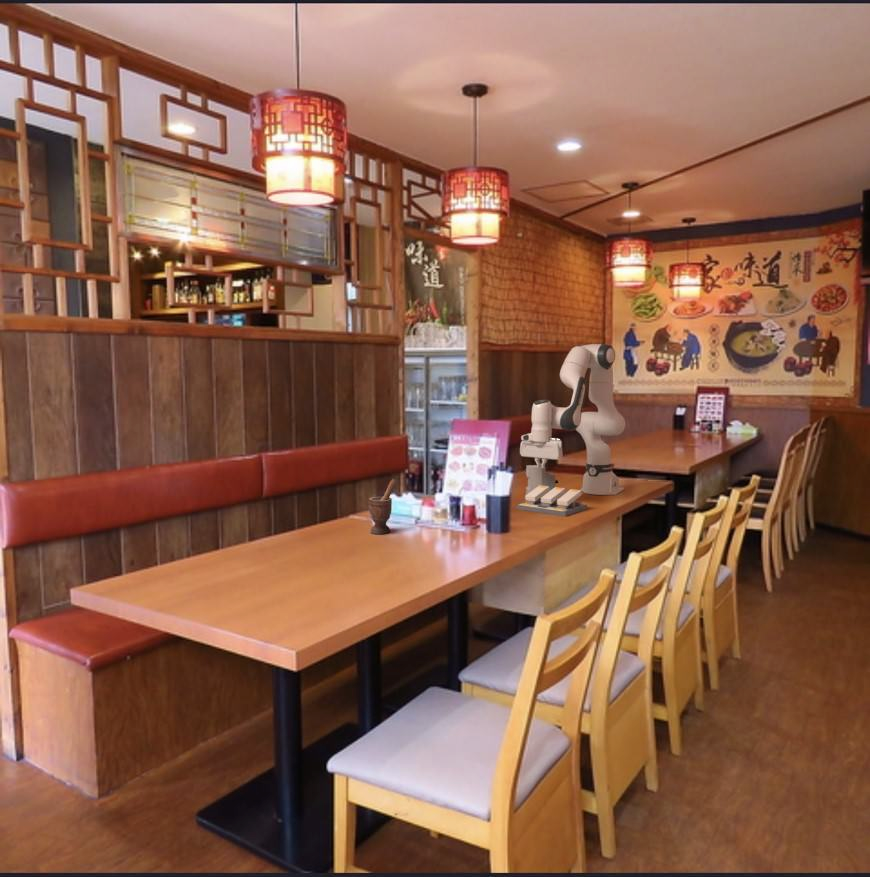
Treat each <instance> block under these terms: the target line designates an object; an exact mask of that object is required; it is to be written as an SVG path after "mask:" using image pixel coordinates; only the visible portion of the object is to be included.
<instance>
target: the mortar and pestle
mask: <svg viewBox="0 0 870 877" xmlns="http://www.w3.org/2000/svg"><path fill="white" fill-rule="evenodd" d="M398 483H399V481H398V480H396V478H395V479H394V478H392V479H391V480H390V481H389V484H388V485H387V488H386V491H385V492H384V495H383V496H372V497H369V498H368V505H369V506H368V510H369V513H370V519H371V520H372V521H373V523H374V525H373V526H371V528H370V534H375V535H385V534H389V533H390V532H391V528H390V527H389V526H388V524H387V522H388V521H389V519H390V518H391V514H392V506H393V505H392V500H393V499H392V498H391V495H392V494H393V492H394V490H395V489H396V488H397V486H398Z"/></svg>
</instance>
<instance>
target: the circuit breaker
mask: <svg viewBox="0 0 870 877" xmlns="http://www.w3.org/2000/svg"><path fill="white" fill-rule="evenodd" d="M546 471H547V470H546V467H545V468H543V469H542V468H537V464H533V465H531V464H529V465H526V468H525V475H526V478H528V479H527V486H526V487H525V496H526V495H527V494H528V493H530V492H531V491H532V490H534V489H535V488H536V487H538V486H539V485H542V486H549V489H550V491H551V490H552V489H553V488H555V487H556V484H559V480H558V479H556V475H555V474H554V473H553V472H546ZM548 492H549V491H548ZM548 492H547V493H548ZM543 496H544V495H543ZM543 496H542V497H543Z"/></svg>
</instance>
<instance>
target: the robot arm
mask: <svg viewBox="0 0 870 877" xmlns="http://www.w3.org/2000/svg"><path fill="white" fill-rule="evenodd" d="M615 359H616V351H615V349H614V347H613V346H612V345H610V344H608V343H600V344H599V343H590V344H585V345H583V344H581V345H576V346H574V347H572V348H571V349H570V351H569V352H568V354H567V355H566V357H565V359H564V361H563V363H562V365H561V368H560V370H559V371H560V372H559V378H560V380H561V382H562V383H563V384H564V385H565V386H566V387H567V388H570V389H571V390H573V393H572V397H571V402H570V405H568V406H566V407H559V406H556V405H554V404H552V403H551V400H549V399H539V400H535V401H533V404H532V406H531V431H530V433H529V432H528V433H526V434H523V435H521V437H520V439H521V442H520V447H519V455H520V456H521V457H526V458H534V461H535V463H536V465H537V468H542V469H543V468H546V466H545V465H546V464H547V462H548V460H554V461H555V460H557V461H558V460H562V458H563V456H564V455H563V454H564V453H563V441H562V440H561V439H560V438H558V437H552V434H553V433H552V432H553V430H552V429H555V430H564V431H569V432H572V431H576V432H578V434H580V435H581V437H582V439H583V441H584V443H585V447H586V463H585V473H584V474H583V480H582V487H581V488H580V490H581V492H582V493H584V494H589V495H597V496H599V495H600V496H601V495H602V496H604V495H606V496H607V495H618V494H619V493H621V492H623V491H624V490H625V488H624V487H621V486H620V481H619V477H618V476H617V475H616V474H615V473H614V472H613V468H615V463H612V462H611V452H612V450H611V446H609V444H607V443H605V442H604V440H603V439H602V436H607V437H608V436H609V437H611V436H618V435H619V436H620V435H621V434H622V433H623V432H624V430H625V429H626V420H625V417H624V416H623V415H622V414H620V412H619V411H618V410H617V408H616V405H615V402H614V395H613V394H614V389H613V388H614V372H613V364H614V362H615ZM588 369H590V373H589V386H588V383H587V379H586V378H585V376H586V373H587V371H588ZM587 388H588V399H589V401H590V402H591V403H593V404H594V405H595V406H596V408H597V411H583V409H584V408H583V407H584V402H585V398H586V393H587ZM540 461H542V463H541V462H540Z"/></svg>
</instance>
